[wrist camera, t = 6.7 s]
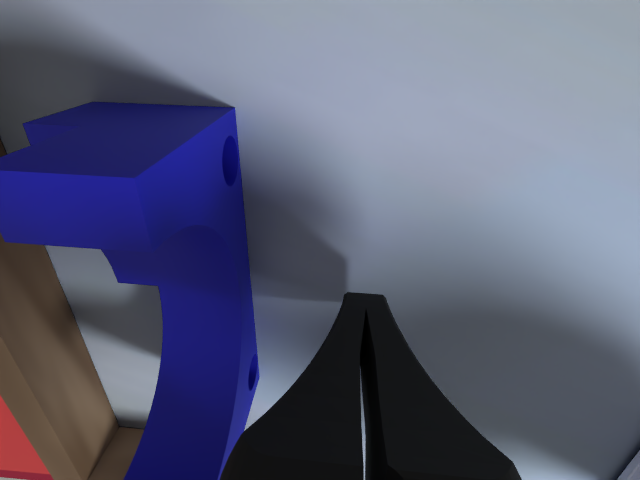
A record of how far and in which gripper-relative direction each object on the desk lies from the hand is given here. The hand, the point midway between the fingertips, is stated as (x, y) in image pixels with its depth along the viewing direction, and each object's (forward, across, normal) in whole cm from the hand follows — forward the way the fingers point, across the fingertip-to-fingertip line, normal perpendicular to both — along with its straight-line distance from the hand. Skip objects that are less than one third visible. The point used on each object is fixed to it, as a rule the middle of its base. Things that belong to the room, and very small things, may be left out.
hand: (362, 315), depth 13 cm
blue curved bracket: (+2, +7, -1) cm, 7 cm away
